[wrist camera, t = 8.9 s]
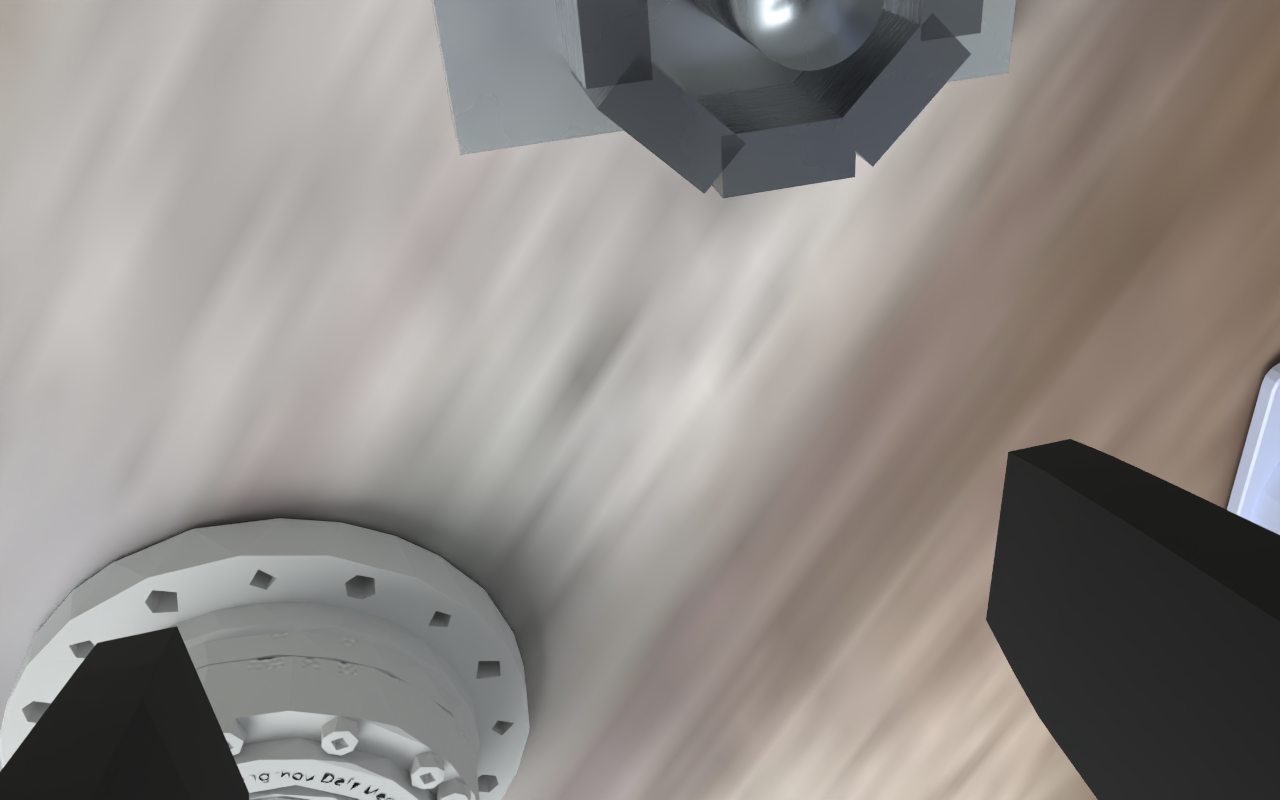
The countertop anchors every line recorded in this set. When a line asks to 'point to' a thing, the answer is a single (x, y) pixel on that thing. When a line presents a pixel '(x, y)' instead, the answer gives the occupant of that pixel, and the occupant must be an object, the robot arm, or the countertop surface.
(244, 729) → the mechanical component
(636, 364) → the countertop surface
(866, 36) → the piston block
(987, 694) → the countertop surface
